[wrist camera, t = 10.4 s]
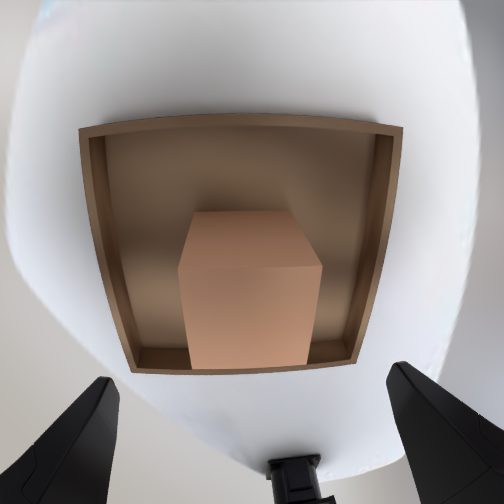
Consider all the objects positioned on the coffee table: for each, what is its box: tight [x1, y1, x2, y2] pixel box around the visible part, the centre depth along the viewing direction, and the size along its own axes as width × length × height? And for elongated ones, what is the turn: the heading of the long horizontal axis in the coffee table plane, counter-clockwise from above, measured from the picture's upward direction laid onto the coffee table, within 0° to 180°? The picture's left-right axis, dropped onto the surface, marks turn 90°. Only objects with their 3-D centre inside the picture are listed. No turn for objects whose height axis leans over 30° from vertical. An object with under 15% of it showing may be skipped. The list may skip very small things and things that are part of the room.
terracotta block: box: [178, 211, 323, 369], centre depth 14 cm, size 5×5×6 cm
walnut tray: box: [78, 114, 403, 375], centre depth 16 cm, size 15×15×2 cm
